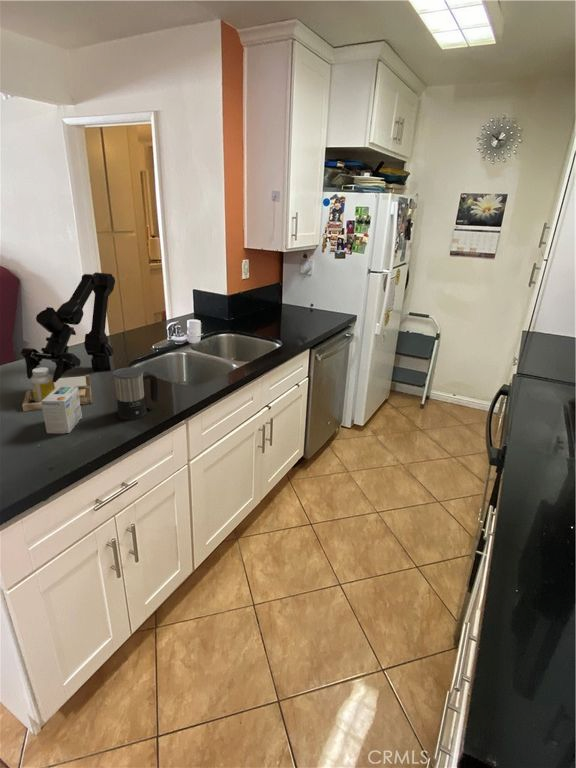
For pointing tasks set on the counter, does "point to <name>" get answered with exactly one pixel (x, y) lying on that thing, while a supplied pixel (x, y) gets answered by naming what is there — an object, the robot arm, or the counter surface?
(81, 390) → the offcut stack
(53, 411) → the light bulb box
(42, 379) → the pill bottle
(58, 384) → the pale grey mat
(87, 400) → the birch rack
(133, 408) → the milk frother
